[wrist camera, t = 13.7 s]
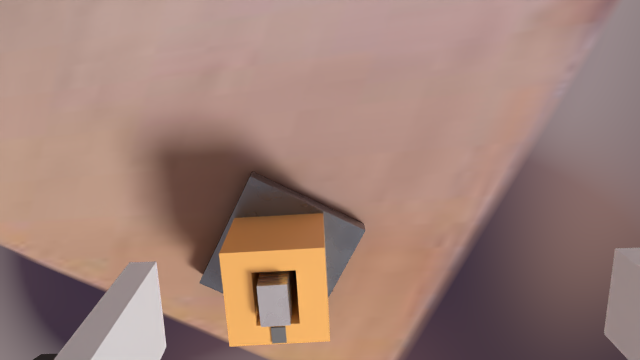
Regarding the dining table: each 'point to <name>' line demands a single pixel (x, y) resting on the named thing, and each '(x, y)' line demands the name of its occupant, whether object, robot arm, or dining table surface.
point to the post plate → (291, 205)
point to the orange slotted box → (275, 255)
